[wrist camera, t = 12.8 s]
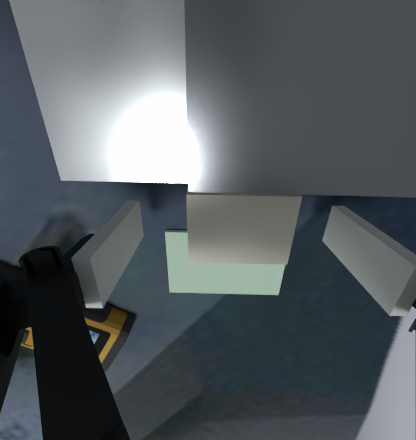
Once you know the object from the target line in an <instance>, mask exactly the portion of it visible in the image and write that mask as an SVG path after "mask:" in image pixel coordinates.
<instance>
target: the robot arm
mask: <svg viewBox="0 0 416 440" xmlns="http://www.w3.org/2000/svg"><path fill="white" fill-rule="evenodd" d="M143 237H144V235H143V227H142V219H141V210H140V202H139V201H127V202H126V203H125V204H124V205H123V206H122V207H121V208H120V209H119V210H118V211H117V212H116V213H115V214H114V215H113V216H112V217H111V218H110V219H109V220H108V221H107V222H106V223H105V224H104V226H103V227H102V228H101V229H100V230H99V231H98V232H97V233H96V234H89V235H87V236H85V237H83V238H82V239H81V240H80V241H78V242H77V243H76V245H74V246H73V247H72V248H71V250H69V251H68V252H67V253H66V254H65V255H64V256H62V254H61V251H60V249H59V248H58V247H55V246H45V247H40V248H37V249H34V250H31V251H29V252H27V253H25V254H24V255H23V256H22V257H20V260H19V263H20V265H21V268H22V270H23V272H24V275H25V277H26V278H22V279H17V280H11V281H7V278H6V276H5V275H4V274H3V273H1V272H0V412H1V409H2V405H3V402H4V399H5V396H6V392H7V389H8V386H9V383H10V379H11V376H12V373H13V369H14V366H15V363H16V360H17V356H18V353H19V350H20V347H21V343H22V340H23V337H24V334H25V330H26V328H29V327H31V329H32V338H33V348H34V357H35V367H36V376H37V386H38V396H39V405H40V415H41V424H42V434H43V440H130V438H129V435H128V433H127V430H126V428H125V426H124V424H123V421H122V419H121V416H120V413H119V411H118V408H117V405H116V403H115V400H114V397H113V394H112V392H111V389H110V386H109V383H108V381H107V378H106V375H105V373H104V370H103V367H102V364H101V362H100V359H99V356H98V354H97V351H96V348H95V345H94V343H93V340H92V337H91V334H90V332H89V329H88V326H87V324H86V321H85V318H84V315H83V313H82V310H81V307H80V302H81V301H82V299H84V302H85V305H86V308H103V307H104V305H105V304H106V302H107V300H108V298H109V297H110V295H111V293H112V291H113V289H114V288H115V286H116V284H117V282H118V281H119V279H120V277H121V275H122V274H123V272H124V270H125V268H126V267H127V265H128V263H129V261H130V259H131V258H132V256H133V254H134V252H135V251H136V249H137V247H138V245H139V244H140V242H141V240H142V238H143ZM322 241H323V242H324V243H325V244H326V245H327V246H328V247H329V249H330V250H331V251H332V252H333V253H334V254H335V255H336V256H337V258H338V259H339V260H340V261H341V262H342V263H343V264H344V265H345V266H346V268H347V269H348V270H349V271H350V272H351V273H352V274H353V275H354V277H355V278H356V279H357V280H358V281H359V282H360V283H361V284H362V285H363V287H364V288H365V289H366V290H367V291H368V292H369V293H370V294H371V296H372V297H373V298H374V299H375V300H376V301H377V302H378V303H379V304H380V306H381V307H382V308H383V309H384V310H385V311H386V312H387V313H388V315H389V316H407V314H408V313H409V311H410V309H411V307H412V306H413V307H414V308H416V253H413V251H411V250H410V249H408V248H407V247H405V246H404V245H401V244H399V243H398V242H397V241H395V240H394V239H392V238H391V237H389V236H388V235H386V234H385V233H383V232H382V231H380V230H379V229H377V228H376V227H374V226H373V225H371V224H370V223H368V222H367V221H365V220H364V219H362V218H361V217H359V216H358V215H356V214H355V213H354V212H352V211H351V210H349V209H348V208H346V207H345V206H332V209H331V212H330V216H329V219H328V223H327V226H326V230H325V233H324V237H323V240H322ZM413 330H416V319H415V320H414V322H413V324H412V325H411V327H410V329H409V331H410V332H412V331H413Z"/></svg>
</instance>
